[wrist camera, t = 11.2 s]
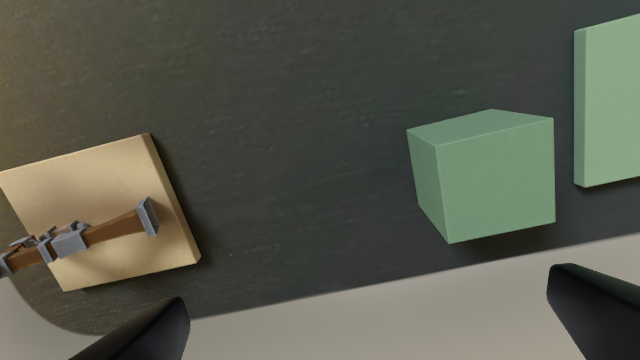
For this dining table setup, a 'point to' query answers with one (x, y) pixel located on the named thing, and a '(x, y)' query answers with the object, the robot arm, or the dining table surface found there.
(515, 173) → the sage block
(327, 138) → the dining table surface
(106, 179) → the birch pad
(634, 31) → the sage pad
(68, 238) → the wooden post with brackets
